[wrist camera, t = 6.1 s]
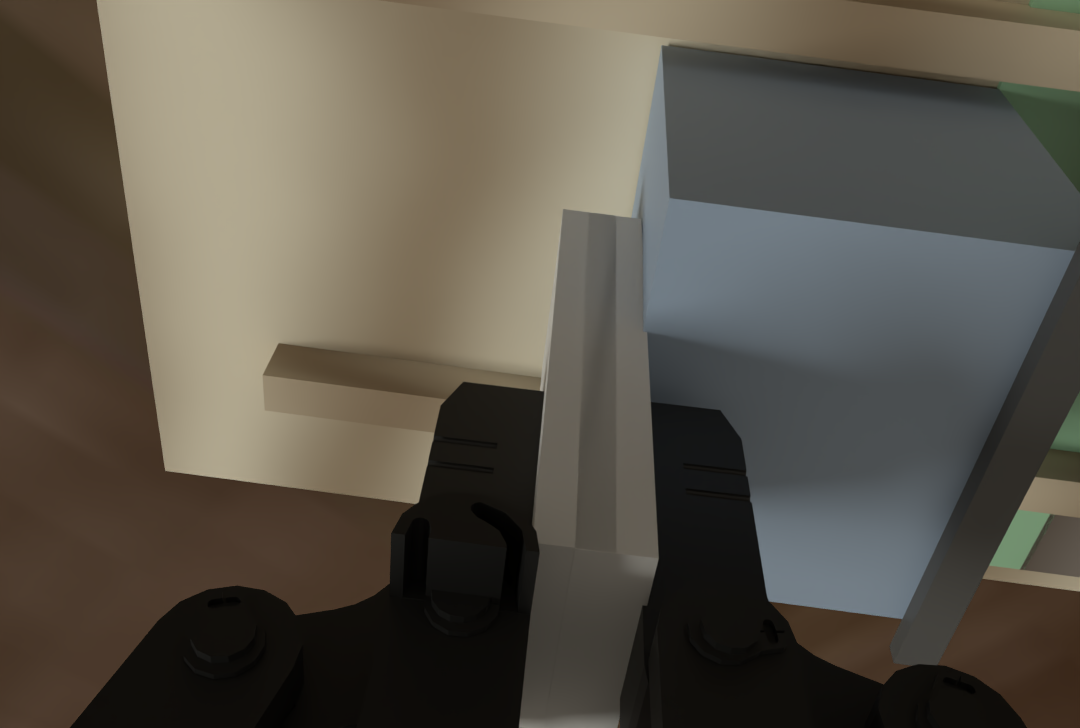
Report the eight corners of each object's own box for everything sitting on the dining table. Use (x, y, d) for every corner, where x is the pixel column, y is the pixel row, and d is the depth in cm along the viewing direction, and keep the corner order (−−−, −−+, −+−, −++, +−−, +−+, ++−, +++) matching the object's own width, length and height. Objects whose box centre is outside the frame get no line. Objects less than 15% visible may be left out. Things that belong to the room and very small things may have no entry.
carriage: (599, 397, 19) (587, 622, 15) (668, 4, 15) (680, 158, 11) (868, 432, 19) (935, 668, 15) (1013, 49, 15) (1167, 222, 11)
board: (186, 433, 22) (146, 504, 20) (85, -361, 14) (4, -359, 12) (1206, 568, 22) (1256, 651, 20) (1709, -151, 14) (1867, -117, 12)
